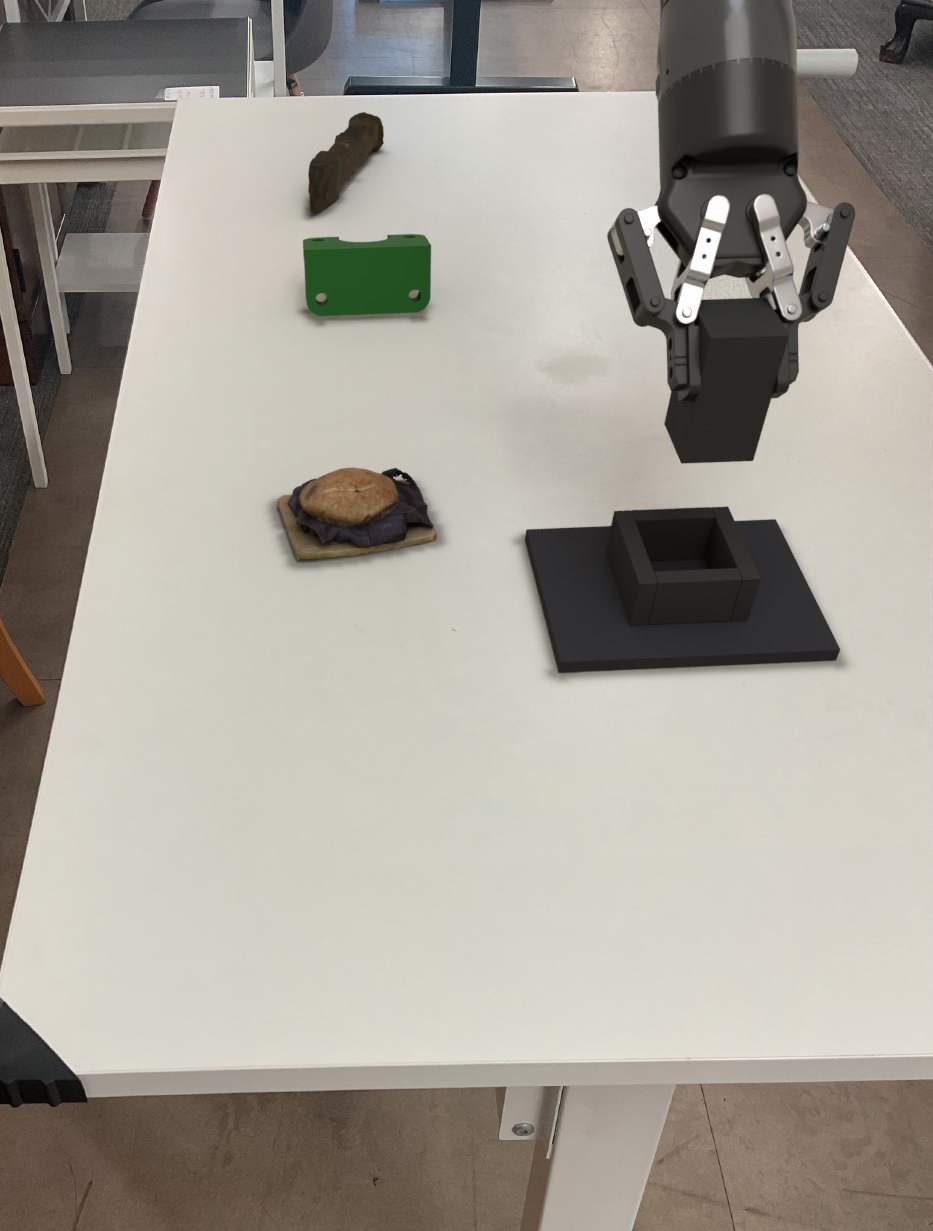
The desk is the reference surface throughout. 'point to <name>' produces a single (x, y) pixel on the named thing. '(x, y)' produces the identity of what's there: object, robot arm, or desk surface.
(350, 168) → the dark brown lumpy bar
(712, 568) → the base pad
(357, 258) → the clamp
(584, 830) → the desk surface
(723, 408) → the rectangular block
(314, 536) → the bread roll
